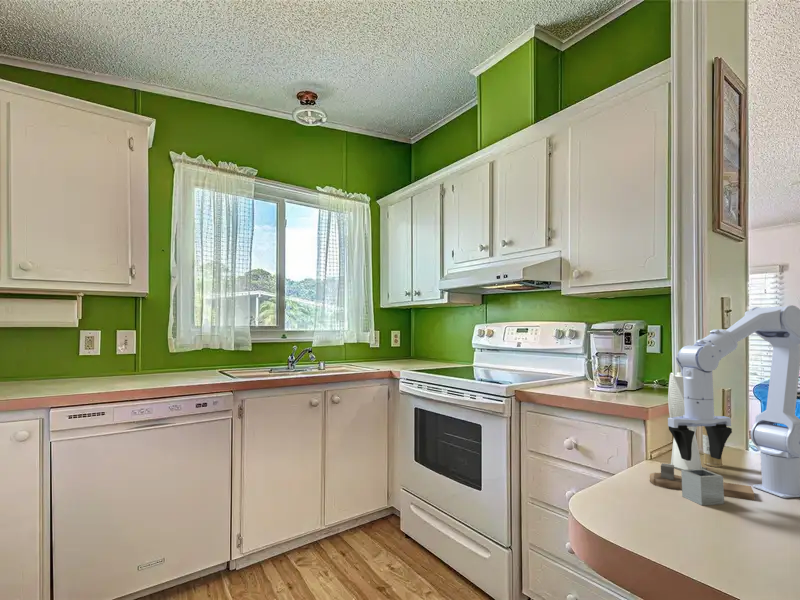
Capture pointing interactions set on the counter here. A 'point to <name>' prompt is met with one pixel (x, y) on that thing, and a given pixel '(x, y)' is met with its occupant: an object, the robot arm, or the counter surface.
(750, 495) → the walnut base
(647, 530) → the counter surface
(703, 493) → the steel collar
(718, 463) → the sprinkles bottle
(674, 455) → the skyscraper
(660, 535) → the counter surface
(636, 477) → the counter surface
